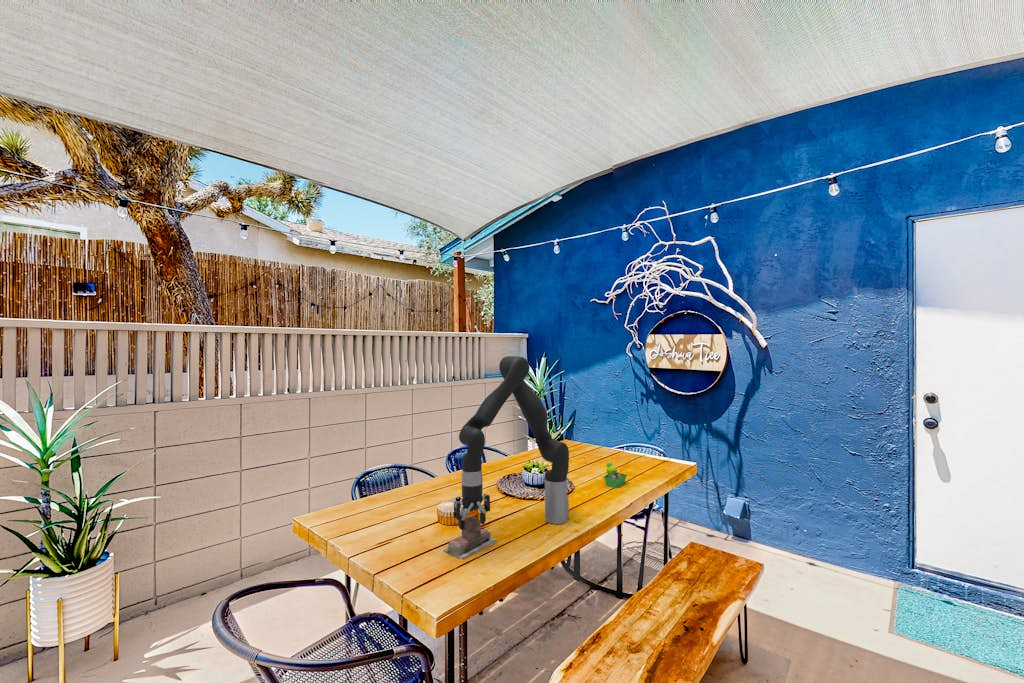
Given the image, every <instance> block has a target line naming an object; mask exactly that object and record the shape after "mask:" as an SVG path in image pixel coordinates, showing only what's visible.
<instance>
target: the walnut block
mask: <svg viewBox="0 0 1024 683" xmlns="http://www.w3.org/2000/svg"><path fill="white" fill-rule="evenodd" d="M464 520H465V530H463V531H462V530H461V536H463V537H465V538H466V539H467V540H469V541H470V540H473V539H476V538H479V537H481V529H482V526H481V525H482V524H481V520H480V518H478V517H476V516H475V515H472V516H469V517H465V519H464Z"/></svg>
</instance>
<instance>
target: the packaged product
mask: <svg viewBox="0 0 1024 683" xmlns="http://www.w3.org/2000/svg"><path fill="white" fill-rule="evenodd" d="M497 541H498V539H497V538H495V537H491V531H490V530H488V529H486V528H481V537H479V538H476V539H473V540H470V541H469V540H467V539H466V538H465V537H463V536H462V535H461V536H458V537H457V538H455V539H453V540H450V541H449V542H448V547H447V548H445V549H443V553H445V554H448V555H450V556H452V557H454V558H457V559H459V560H462V561H464V560H465V559H467V558H469V557H470V556H472V555H475V554H477V553H479V552H481V551H483V550H484V549H487V548H488V547H490V546H492V545H494V544H495V543H497Z"/></svg>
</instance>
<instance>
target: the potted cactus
mask: <svg viewBox="0 0 1024 683" xmlns="http://www.w3.org/2000/svg"><path fill="white" fill-rule="evenodd" d="M606 473H607V474H606V475H603V479H604V482H605V486H606V487H609V488H612V487H613V489H616V488H619V487H621V486H623V485H625V483H626V479H627V477H628V476H627V474H625V473H621V472H618V467H616V466H615V465H614V464H613V463H612V462H607V464H606Z"/></svg>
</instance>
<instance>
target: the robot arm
mask: <svg viewBox="0 0 1024 683" xmlns="http://www.w3.org/2000/svg"><path fill="white" fill-rule="evenodd" d="M498 367H499V372H500V375H501V376H502V378H503V381H502V382H501V383H500V384H499V385H498V386H497V388H495V389H494V390H492V392H491V393H490V394H488V396H486V397H485V399H484V400H483V401H482V403H481V404H480V405H479V407H478V409H477V410H476V412H475V413H474V415H473V416H472V417H471V418H470V419H469V420H468V421H466V423H465V424H463V426H462V428H461V430H459V434H458V435H459V436H458V440H459V441H460V443H461V444H462V445H463V446H467V449H466V450H467V452H466V453H464V454H463V455H462V461H461V463H462V467H461V469H462V471H461V498H462V499H461V500H460V501H457V500H455V501H454V502H453V518H454V519H455V520H457V521H458V527H459V530H461V532H462V531H463V530H465V520H464V519H465V518H467V516H468V515H469V513H471V512H473V511H479V520H481V525H485V523H486V520H487V519H486V518H487V517H486V516H487V515H486V514H487V513H488V512H491V497H490V496H491V495H489V494H487V493H483V472H482V471H483V470H482V469H483V468H482V461H483V460H482V457H483V455H484V450H485V445H486V437H485V434H484V432H483V428H486V427H489V426H491V425H492V423H493V422H494V420H495V418H496V417H497V415H498V413H499V412H500V410H501V409H502V407H503V406H504V404H505V403H506V401H507V400H508V399H509V398H510V396H512V394H513V397H514V398H515V399H514V400H516V403H517V404H518V407H519V408H520V411H521V414H522V415H523V418H524V419H525V421H526V422H527V425H528V427H529V429H530V431H531V433H532V435H533V437H534V439H535V442H536V445H537V448H538V450H539V453H540V456H541V457H542V458H543V460H545V461H546V462H549V463H551V469H549V470H546V471H545V472H544V520H546V521H547V522H546V521H545V522H546V523H548V522H549V523H548V524H551V523H553V524H552V525H560V524H561V523H563V524H565V523H567V521H568V520H570V516H569V515H570V508H569V506H570V504H569V497H568V494H567V493H568V491H567V490H568V486H567V484H568V482H567V481H568V479H567V478H568V476H567V475H568V474H569V467H570V466H569V465H570V464H569V463H570V450H569V447H568V445H567V444H566V443H565V442H563V441H559V440H555V439H553V437H552V436H551V434H550V432H549V430H548V421H549V419H548V412H547V409H546V407H545V405H544V403H543V401H542V399H541V398H540V396H538V395H537V393H536V392H535V391H534V390H533V389H532V388H531V387H530V386H529V385H528V384H527V383H526V381H525V379H526V378H527V376H528V374H529V372H530V363H529V360H527V358H526V357H523V356H513V355H510V356H504V357H502V358H501V360H500V362H499V366H498ZM482 502H483V505H482ZM567 519H568V520H567ZM564 522H565V523H564ZM561 525H562V524H561Z"/></svg>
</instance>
